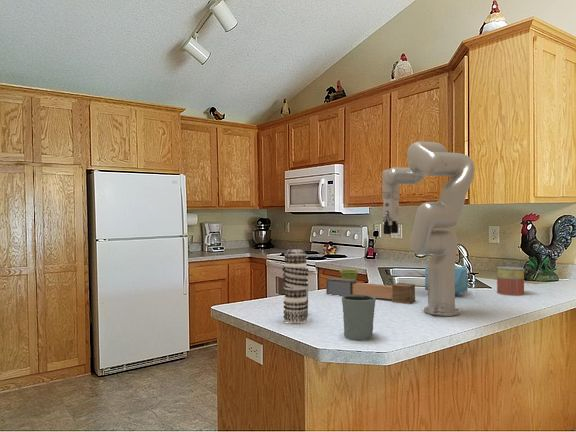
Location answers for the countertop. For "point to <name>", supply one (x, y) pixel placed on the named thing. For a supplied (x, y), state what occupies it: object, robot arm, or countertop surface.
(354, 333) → the grey green cup
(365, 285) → the light brown wooden bar
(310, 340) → the countertop surface
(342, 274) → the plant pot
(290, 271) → the decorative candle
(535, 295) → the countertop surface
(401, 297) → the walnut socket
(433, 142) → the robot arm
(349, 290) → the grey rectangular block
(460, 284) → the teakettle
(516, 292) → the canned food
